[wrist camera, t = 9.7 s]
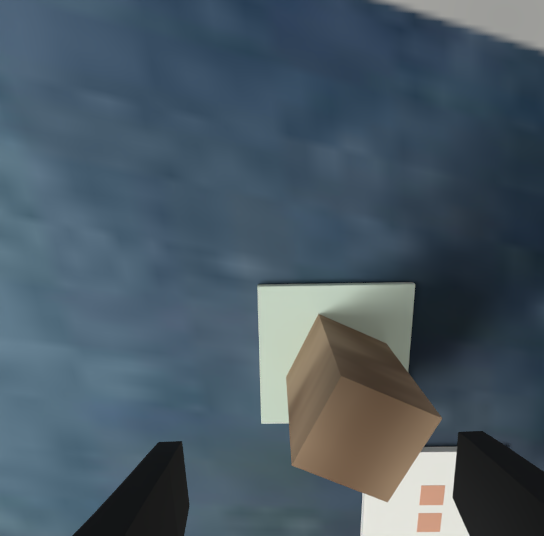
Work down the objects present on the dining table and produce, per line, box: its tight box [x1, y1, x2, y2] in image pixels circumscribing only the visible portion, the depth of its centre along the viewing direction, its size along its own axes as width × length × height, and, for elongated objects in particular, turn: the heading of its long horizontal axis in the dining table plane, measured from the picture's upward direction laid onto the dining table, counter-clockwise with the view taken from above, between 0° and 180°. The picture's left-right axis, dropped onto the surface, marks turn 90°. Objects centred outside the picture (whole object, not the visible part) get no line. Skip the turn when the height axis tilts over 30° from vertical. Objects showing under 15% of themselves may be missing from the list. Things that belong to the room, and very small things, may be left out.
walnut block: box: [286, 314, 442, 502], centre depth 15 cm, size 4×4×6 cm
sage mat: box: [258, 282, 415, 424], centre depth 18 cm, size 8×8×1 cm
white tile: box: [360, 447, 469, 536], centre depth 20 cm, size 8×8×1 cm
